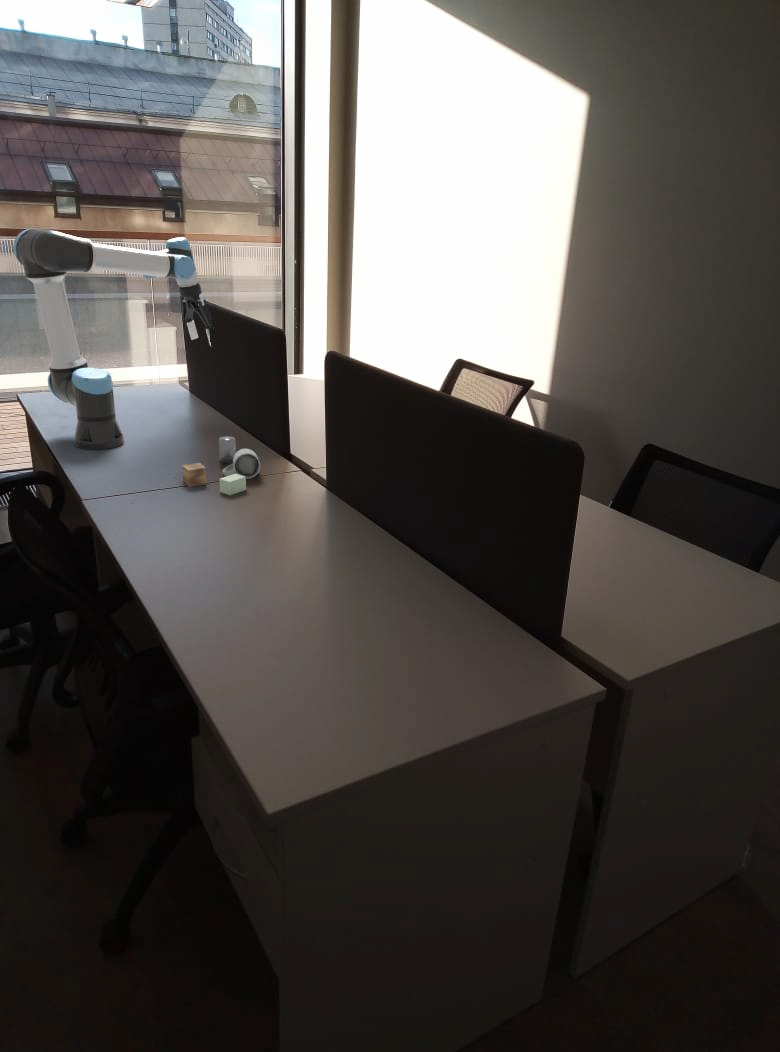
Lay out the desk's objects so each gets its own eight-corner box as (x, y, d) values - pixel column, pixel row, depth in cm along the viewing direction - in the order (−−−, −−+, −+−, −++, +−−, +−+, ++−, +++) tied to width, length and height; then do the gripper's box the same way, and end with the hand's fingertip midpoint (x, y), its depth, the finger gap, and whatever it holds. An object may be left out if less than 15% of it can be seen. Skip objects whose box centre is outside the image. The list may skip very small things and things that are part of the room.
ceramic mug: (257, 469, 231) (256, 444, 228) (260, 478, 224) (259, 452, 221) (221, 471, 228) (220, 447, 225) (224, 480, 221) (222, 455, 218)
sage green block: (229, 495, 210) (229, 482, 208) (220, 492, 212) (219, 478, 211) (246, 490, 214) (245, 476, 213) (236, 487, 217) (235, 473, 215)
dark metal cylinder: (223, 463, 234) (222, 441, 232) (217, 459, 238) (216, 437, 236) (238, 461, 237) (237, 439, 234) (232, 457, 241) (231, 435, 238)
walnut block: (189, 487, 215) (188, 470, 213) (183, 481, 219) (182, 465, 217) (206, 484, 217) (205, 467, 215) (200, 479, 221) (199, 462, 219)
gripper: (216, 285, 264) (230, 344, 276) (180, 277, 281) (195, 333, 292) (197, 291, 260) (213, 351, 272) (162, 282, 277) (178, 339, 288)
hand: (204, 341), depth 282 cm, fingers open, 13 cm apart
